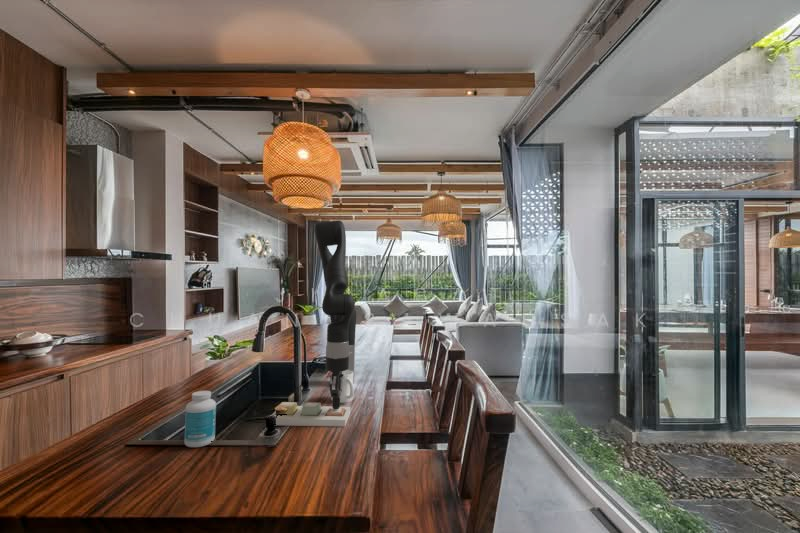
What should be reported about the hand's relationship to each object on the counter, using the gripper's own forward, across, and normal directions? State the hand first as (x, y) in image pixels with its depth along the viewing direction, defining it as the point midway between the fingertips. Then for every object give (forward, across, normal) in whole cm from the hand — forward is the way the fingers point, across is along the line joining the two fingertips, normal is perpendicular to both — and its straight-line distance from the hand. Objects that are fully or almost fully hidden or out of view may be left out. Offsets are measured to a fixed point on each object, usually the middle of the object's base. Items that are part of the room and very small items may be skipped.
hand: (336, 408), depth 120 cm
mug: (+4, -18, 0) cm, 18 cm away
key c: (+2, 0, -16) cm, 16 cm away
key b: (+2, 0, -8) cm, 8 cm away
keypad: (+4, 0, -8) cm, 9 cm away
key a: (+3, 0, 0) cm, 3 cm away
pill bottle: (+4, +19, -34) cm, 39 cm away
